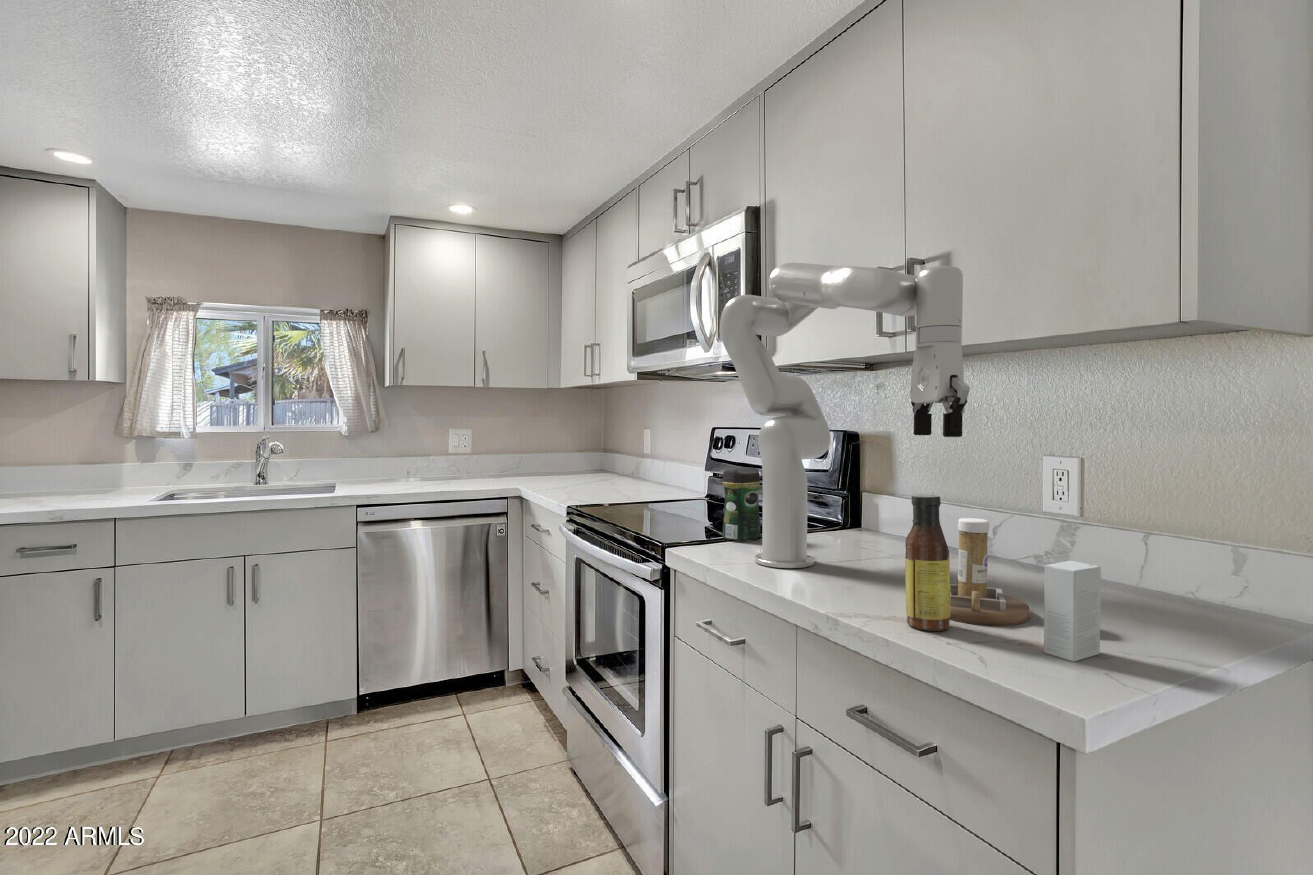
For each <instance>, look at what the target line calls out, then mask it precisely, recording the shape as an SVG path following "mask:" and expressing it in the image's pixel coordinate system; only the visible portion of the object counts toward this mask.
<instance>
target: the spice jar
mask: <svg viewBox="0 0 1313 875" xmlns="http://www.w3.org/2000/svg"><path fill="white" fill-rule="evenodd" d="M957 530H958V534H959V536H958V550H957V553H958V555H957V556H958V557H957V566H958V567H957V580H958V583H957V585H958V595H957V596H965V597H972V591H977V592H980V598H985V599H987V597H986V595H987V593H986V590H987V587H988V586H987V584H988V583H987V582H988V535H989V532H990V521H989V520H987V519H985V518H976V517H962V518H961V517H960V518H959V519H958V524H957Z"/></svg>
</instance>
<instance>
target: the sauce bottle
mask: <svg viewBox="0 0 1313 875" xmlns="http://www.w3.org/2000/svg"><path fill="white" fill-rule="evenodd" d="M911 504H912V507H913V508H912V510H913V511H912V514H913V516H912V517H913V519H912V527H911V529H910V531H909V533H908V534H907V536H906V538H905V545H904V546H905V556H904V565H905V566H904V568H905V570H904V572H905V573H904V574H905V575H904V576H905V613H906V614H905V615H906V616H907V617H906V622H907V624H908V625H909V626H910V627H913V628H915V629H917V630H921V631H925V632H926V631H928V632H941V631H945V630H946V631H947V629H949V628H950V621H951V620H950V616H951V615H950V584H951V574H950V573H951V568H950V566H951V565H950V564H951V563H950V550H949V547H948V544H947V541H946V538H945V534H944V532H943V529H942V525H941V520H940V506H941V504H942V502H941V496H940V495H938V494H926V493H925V494H924V493H922V494H921V493H920V494H912V495H911Z"/></svg>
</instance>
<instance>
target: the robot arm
mask: <svg viewBox="0 0 1313 875" xmlns="http://www.w3.org/2000/svg"><path fill="white" fill-rule="evenodd" d="M768 288H769V290H770V293H771V294H772V296H773V297H774V298H772V297H771V298H769V297H765V296H760V295H755V294H754V295H753V294H741V295H737V296H735V297H733V298H731V299H730V300H728V302H727V303H726V304H725V306H723V307H724V308H723V310H722V312H721V315H720V322H719V333H720V337H721V342H722V345H723V346H724V349H725V351H726V353H727V355H728V356H729V359H730V360H731V362H732V365H733V367H734V369H735V371H736V374H737V377H738V379H739V382H740V384H741V386H742V389H743V392H744V394H745V397H746V399H747V401H748V403H749V405H750V408H751V409H752V410H753V412H754V413H756V414H757V415H759V416H765V417H772V418H770V419H768V420H767V421H766V422H764V424H762V426H761V428H760V430H759V433H758V449H759V450H758V451H759V454H760V460H761V470H762V509H761V510H762V517H761V518H762V523H761V525H762V526H761V527H762V528H761V530H762V531H761V532H762V533H761V535H762V536H761V537H762V538H761V541H762V542H761V552H759V553H757V554H755V555H754V561H755V563H757V564H759V565H761V566H763V567H769V568H778V569H802V568H808V567H811V566H813V565H814V564H815V558H814V557H813V556H811V555H810V554H808V552H807V551H808V476H807V472H806V469H805V467H804V464H803V461H802V460H811V459H818V458H820V457H822V456H823V455H825V453H827V451H828V450H829V447H830V445H831V440H832V439H831V431H830V428H829V425H828V423H827V420H826V417H825V415H824V413H823V411H822V409H821V407H820V405H819V402H818V400H817V398H816V395H815V393H814V392H813V389H812V388H811V386H810V385H809V383H808V382H807V381H806V380H805V379H803V378H801V377H800V376H797V375H795V374H785V373H782V372H780V371H779V369H778V367H777V365H776V364H775V362H774V359H773V357H772V355H771V353H770V351H769V349H768V348H767V346H766V345H765V344H764V343H763V342H762V340H760V338H759V337H758V335H759V336H767V337H781V336H784V335H786V334H788V333H789V332H791V331H792V330H793V329H794V328H796V327H797V326H798V325H799V324H800V323H801V322H803V321H804V320H806V319H807V318H808V317H809V316H810V315H812V313H814V312H815V311H816V310H817V309H819V308H820V309H822V308H823V309H829V310H835V309H836V310H837V309H838V308H840V307H843V308H850V309H851V308H852V309H858V310H866V311H872V312H877V313H884V314H887V315H893V316H897V317H898V316H899V317H912V316H915V350H914V353H913V359H912V366H911V367H912V368H911V375H910V377H911V378H910V379H911V380H910V390H909V395H910V397H909V398H910V400H911V402H910V404H911V406H912V413H913V435H914V436H931V435H932V425H933V424H932V414H933V413H930V411H931V409H932V407H933V404H942V406H943V408H944V410H945V412H944V413H942V414H943V415H942V436H943V437H945V438H961V437H962V436H963V416H964V415H963V414H964V413H965V410H966V409H965V407H966V405H967V403H968V396H969V394H970V390H971V389H970V386H969V385H968V384H967V383H966V382H965V380H964V377H965V376H964V359H963V358H964V357H963V350H962V346H963V305H964V304H963V302H964V301H963V300H964V298H963V296H964V294H963V293H964V274H963V271H962V270H961V269H960V267H956V266H954V265H953V266H952V265H939V266H932V267H928V268H924V269H922V270H921V271H919V273H918V274H917V275H912V274H907V273H903V272H901V271H900V272H899V271H896V270H892V269H888V268H881V267H880V268H879V267H868V266H856V265H855V266H853V265H852V266H851V265H831V264H817V263H816V264H815V263H805V262H804V263H803V262H785V263H782V264H780V265H778V266H777V267H774V269H773V270H772V271H771V273H770V275H769V278H768ZM775 298H776V299H775Z"/></svg>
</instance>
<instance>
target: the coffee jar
mask: <svg viewBox="0 0 1313 875" xmlns="http://www.w3.org/2000/svg"><path fill="white" fill-rule="evenodd" d="M722 486H723V489H724V511H723V524H722V538H723V539H725V540H726V539H728V540H734V541H733V542H740V541H741V542H743V541H745V542H748V541H747V540H751V541H754V539H755V540H758V539H757V538H759V537H760V538H761V537H762V536H761V535H762V533H761V532H762V531H761V520H760V508H759V507H760V506H759V490H760V487H761V475H760V471H759V470H758V468H753V467H744V466H741V467H740V466H739V467H731V468H726V469H724V471H723V473H722ZM760 538H759V539H760ZM728 540H727V541H728Z"/></svg>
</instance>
